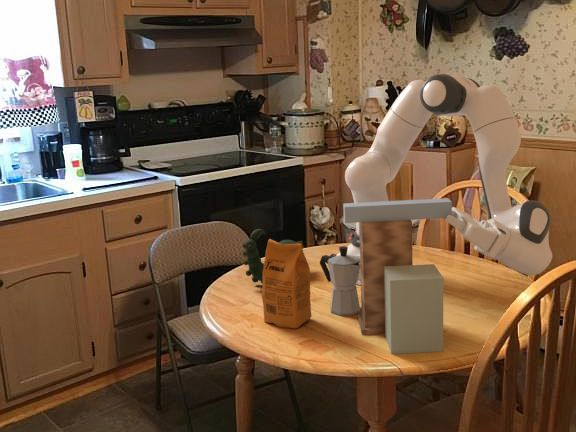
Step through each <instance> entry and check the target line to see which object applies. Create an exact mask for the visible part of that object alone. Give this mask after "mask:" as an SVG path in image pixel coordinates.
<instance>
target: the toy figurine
mask: <svg viewBox="0 0 576 432" xmlns="http://www.w3.org/2000/svg"><path fill="white" fill-rule="evenodd" d="M261 235H264V236H265V235H266V231H265V230H264V229H262V228H257V229H255V230H253V231H252V232H251V233H250V239H247V240H246V241H245V242H244V243H243V244H242V245H241V247H242V248H243V249H245V250H244V251H242V256H244V257H246V258H247V259H246V260H243V265H245V266H248V269H247V270H246V271H245V276H247V277H250V276H251V275H252V277H251V281H252V282H253V283H258V282H260V284H263V269H264V262H262V259H261V257H260V255H259V249H258V248H257V243H256V241H258V240H259V238H260V237H261ZM303 241H304V240H299V241H294V240H291V239H282V240H281V241H279V242H278V243H280V244H303Z"/></svg>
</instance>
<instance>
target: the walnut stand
mask: <svg viewBox="0 0 576 432" xmlns="http://www.w3.org/2000/svg"><path fill="white" fill-rule="evenodd" d="M359 236H360V272H361V285H360V300H361V301H360V303H361V307H360V310H361V312H359V313H357V314H356V315H357V321H358V324H359V325H358V326H359V329H360V333H361V335H380V334H385V291H384V267H386V266H407V265H413V220H397V221H377V222H359Z"/></svg>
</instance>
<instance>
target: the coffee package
mask: <svg viewBox="0 0 576 432" xmlns="http://www.w3.org/2000/svg"><path fill="white" fill-rule="evenodd" d="M267 240H268V241H267V245H266V249H265V254H264V255H265V256H264V262H263V263H264V269H263V284H262V283H261V284H262V289H261V291H262V293H261V299H262V304H263V305H262V306H263V320H264V323H268V324H274V325H276V326H277V327H279V328H284V329H285V328H286V329H298V328H299V327H301V326H302V325H303V324H305V323H306V322H307V321H309V320H310V319H311V318H312V304H311V279H310V277H311V275H310V274H311V269H310V266H309V262H308V260H307V258H306V255H305V252H304V250H303V249H304V248H305V246H304V244H303V243H302V244H280V243H279V242H278V241H276V240H273V239H271V238H269V239H267Z"/></svg>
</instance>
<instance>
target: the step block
mask: <svg viewBox="0 0 576 432" xmlns="http://www.w3.org/2000/svg"><path fill="white" fill-rule="evenodd" d="M384 291H385V333H384V336H385V340H386V342H387V345H388V349H389V351H390V354H391V355H394V354H395V355H396V354H399V355H400V354H413V353H414V354H416V353H440V352H444V276H443V275H442V274H441V273H440V271H439V269H438V267H437V266H436V265H435V264H434V263H433V264H432V263H431V264H430V263H429V264H412V265H407V266H386V267H384Z"/></svg>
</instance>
